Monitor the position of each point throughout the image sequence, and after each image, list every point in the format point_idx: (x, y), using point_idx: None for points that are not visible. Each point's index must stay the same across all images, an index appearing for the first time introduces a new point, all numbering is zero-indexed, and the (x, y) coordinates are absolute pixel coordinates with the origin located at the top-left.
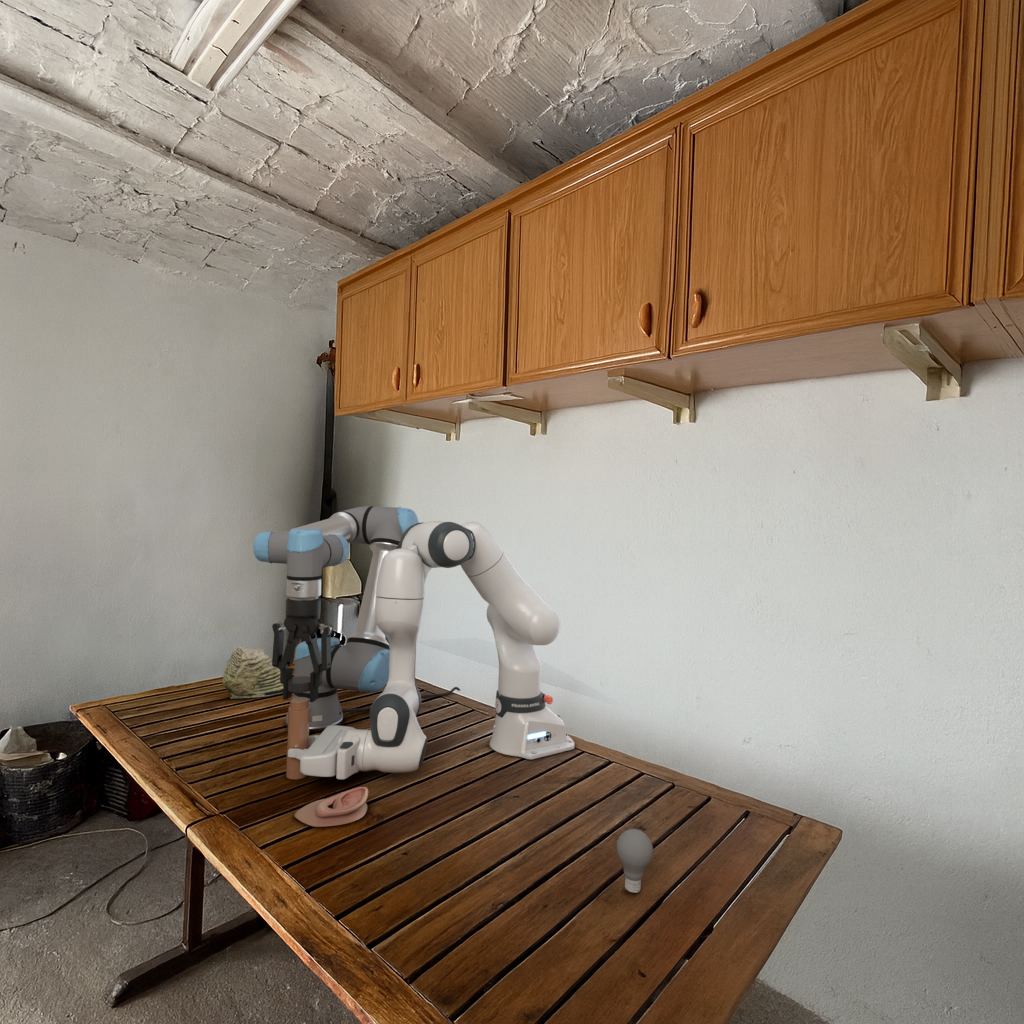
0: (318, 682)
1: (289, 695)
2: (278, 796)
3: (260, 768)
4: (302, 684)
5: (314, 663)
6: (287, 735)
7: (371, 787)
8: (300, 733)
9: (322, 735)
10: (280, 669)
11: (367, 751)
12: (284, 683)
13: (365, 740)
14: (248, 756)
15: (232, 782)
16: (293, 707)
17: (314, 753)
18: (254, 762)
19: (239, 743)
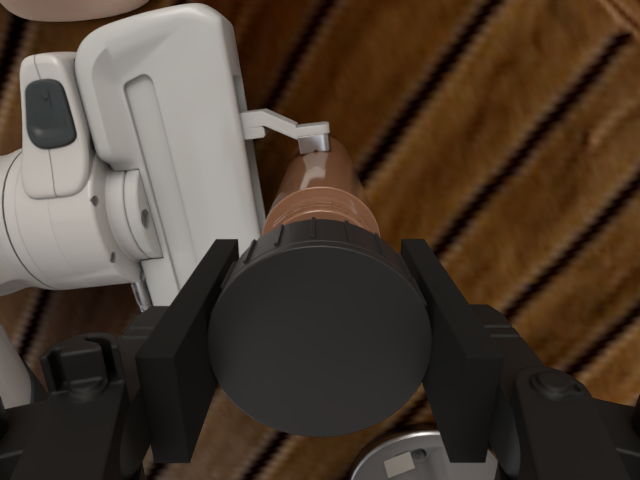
0: (137, 324)
1: None
2: (305, 9)
3: (447, 186)
4: (256, 257)
5: (64, 464)
6: (359, 180)
7: None
8: (292, 170)
9: (245, 250)
10: (558, 373)
11: (6, 158)
12: (449, 289)
13: (2, 185)
14: (516, 253)
15: (491, 73)
16: (333, 201)
17: (180, 65)
18: (482, 220)
19: (576, 326)
